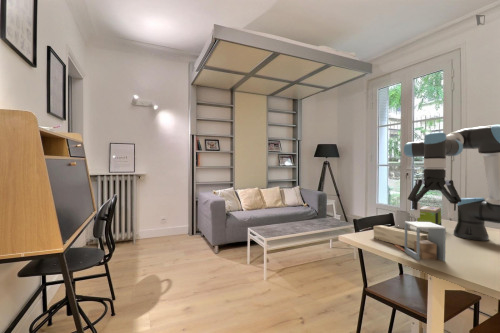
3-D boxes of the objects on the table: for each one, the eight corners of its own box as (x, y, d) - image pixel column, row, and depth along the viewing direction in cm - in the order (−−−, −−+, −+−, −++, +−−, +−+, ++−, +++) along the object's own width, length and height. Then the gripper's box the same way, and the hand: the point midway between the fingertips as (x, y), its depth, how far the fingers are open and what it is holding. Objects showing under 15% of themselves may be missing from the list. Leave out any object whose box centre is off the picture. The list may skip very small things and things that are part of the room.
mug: (393, 227, 161) (393, 211, 161) (397, 225, 167) (397, 209, 167) (414, 231, 152) (414, 214, 152) (417, 229, 158) (417, 212, 158)
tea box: (423, 226, 163) (423, 205, 163) (442, 229, 156) (442, 207, 156) (416, 230, 154) (417, 207, 154) (436, 234, 146) (436, 210, 146)
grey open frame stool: (417, 246, 123) (418, 217, 123) (445, 261, 104) (445, 227, 104) (394, 246, 124) (394, 217, 124) (417, 260, 105) (417, 226, 105)
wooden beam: (381, 237, 138) (381, 225, 139) (429, 249, 114) (428, 234, 115) (373, 238, 136) (373, 226, 136) (420, 250, 112) (420, 235, 112)
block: (427, 255, 112) (427, 240, 112) (436, 260, 106) (436, 244, 106) (414, 254, 112) (414, 239, 112) (422, 259, 106) (422, 243, 106)
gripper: (458, 169, 105) (458, 216, 105) (399, 168, 107) (398, 214, 107) (473, 169, 97) (472, 220, 97) (408, 168, 100) (408, 218, 100)
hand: (433, 217), depth 102 cm, fingers open, 13 cm apart
